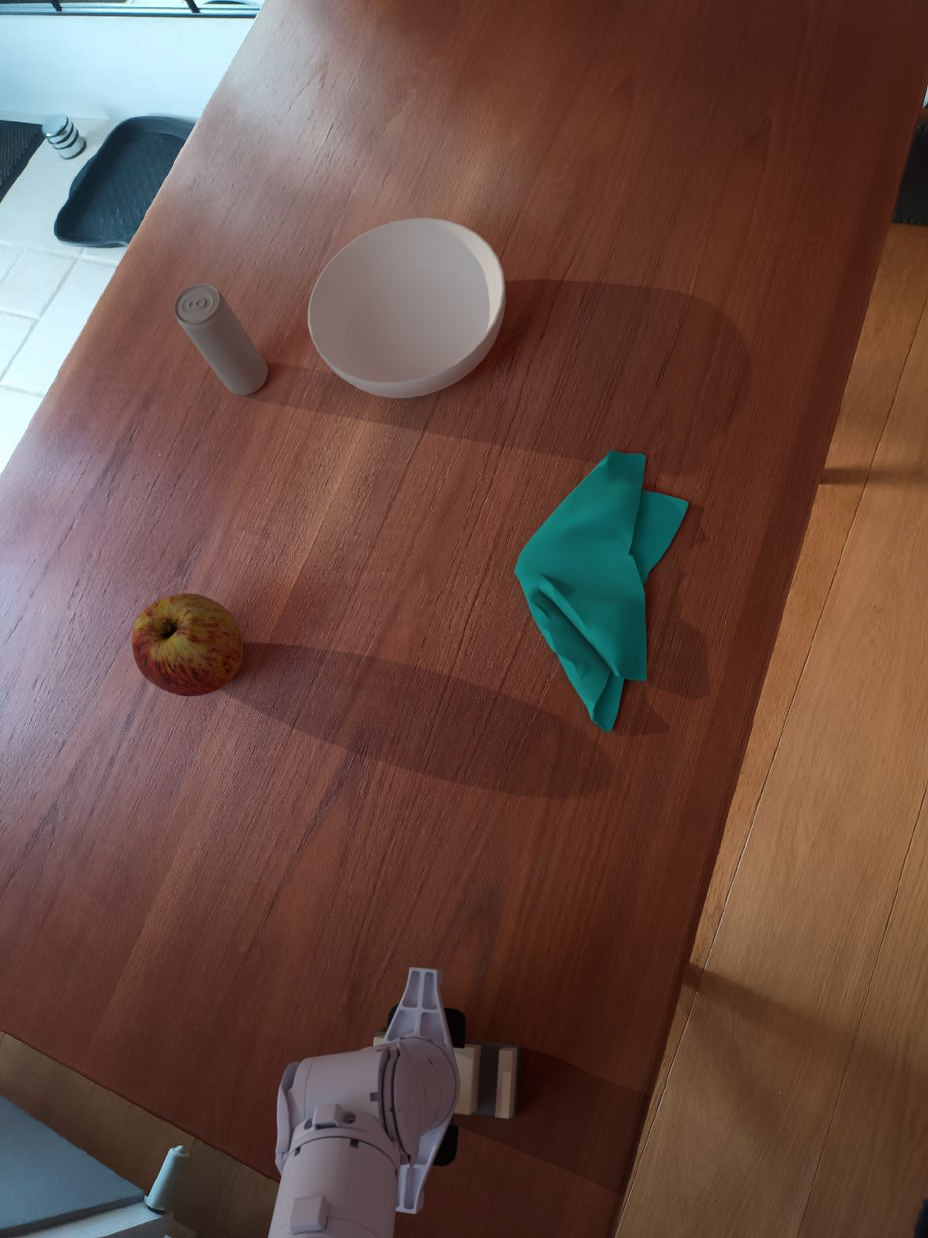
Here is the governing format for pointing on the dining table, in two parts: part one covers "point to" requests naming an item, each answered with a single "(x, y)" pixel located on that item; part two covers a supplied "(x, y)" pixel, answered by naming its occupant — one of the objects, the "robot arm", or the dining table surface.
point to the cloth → (599, 578)
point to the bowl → (408, 307)
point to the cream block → (485, 1077)
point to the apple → (187, 644)
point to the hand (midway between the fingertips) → (442, 1073)
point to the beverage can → (220, 338)
